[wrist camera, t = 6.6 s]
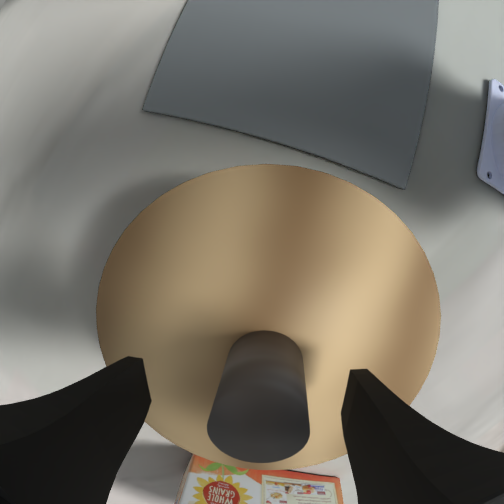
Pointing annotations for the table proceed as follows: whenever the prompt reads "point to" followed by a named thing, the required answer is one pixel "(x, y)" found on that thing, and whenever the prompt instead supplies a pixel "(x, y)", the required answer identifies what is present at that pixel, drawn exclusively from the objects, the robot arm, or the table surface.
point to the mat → (306, 75)
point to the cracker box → (253, 486)
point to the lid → (266, 311)
